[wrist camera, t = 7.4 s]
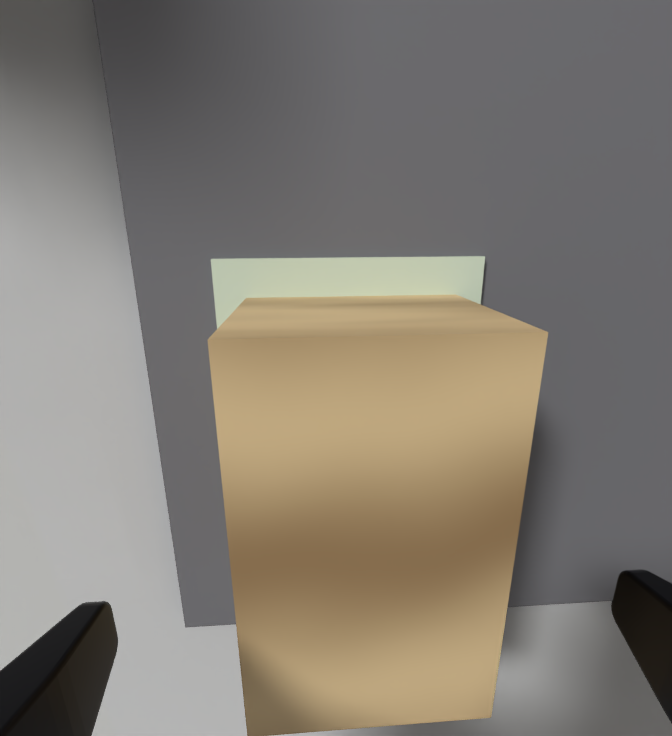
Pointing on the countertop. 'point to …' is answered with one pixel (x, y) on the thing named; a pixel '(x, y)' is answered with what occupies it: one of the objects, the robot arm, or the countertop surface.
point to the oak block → (372, 502)
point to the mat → (413, 230)
